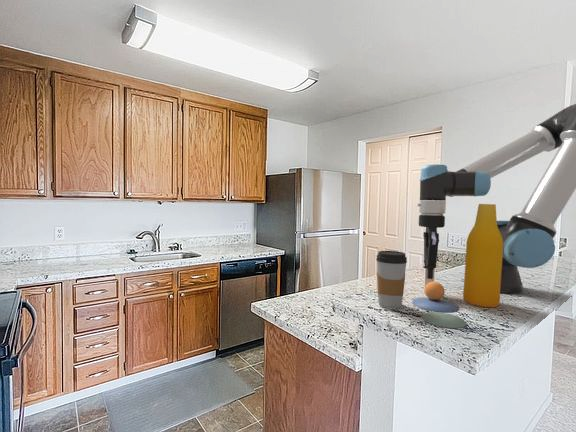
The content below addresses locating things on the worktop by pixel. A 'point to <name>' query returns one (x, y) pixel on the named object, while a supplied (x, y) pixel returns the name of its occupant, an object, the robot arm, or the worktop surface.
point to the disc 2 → (443, 320)
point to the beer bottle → (483, 259)
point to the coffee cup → (390, 278)
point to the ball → (434, 291)
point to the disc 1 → (435, 305)
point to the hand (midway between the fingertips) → (428, 287)
